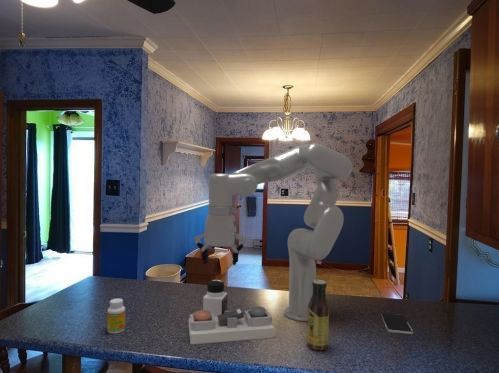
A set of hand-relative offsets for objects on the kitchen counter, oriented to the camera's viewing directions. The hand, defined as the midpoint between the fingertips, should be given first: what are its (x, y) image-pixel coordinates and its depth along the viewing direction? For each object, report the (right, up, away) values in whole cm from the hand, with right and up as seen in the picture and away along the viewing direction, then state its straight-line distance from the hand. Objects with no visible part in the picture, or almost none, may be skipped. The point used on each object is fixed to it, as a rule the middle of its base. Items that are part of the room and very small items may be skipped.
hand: (220, 263), depth 117 cm
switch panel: (+3, -22, -2) cm, 22 cm away
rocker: (+4, -17, -2) cm, 17 cm away
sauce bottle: (+30, -23, -10) cm, 39 cm away
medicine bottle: (-3, -22, +13) cm, 25 cm away
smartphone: (+61, -23, +8) cm, 66 cm away
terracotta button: (-5, -17, -4) cm, 18 cm away
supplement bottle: (-33, -21, -1) cm, 40 cm away
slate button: (+12, -17, 0) cm, 21 cm away
